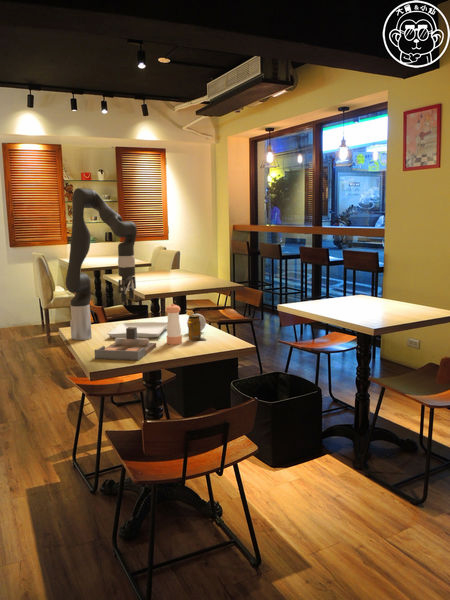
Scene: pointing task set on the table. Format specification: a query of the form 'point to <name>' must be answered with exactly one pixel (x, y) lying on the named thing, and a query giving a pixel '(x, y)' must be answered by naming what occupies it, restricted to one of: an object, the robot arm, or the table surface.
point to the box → (119, 354)
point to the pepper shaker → (173, 325)
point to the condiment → (194, 328)
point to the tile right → (132, 349)
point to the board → (125, 347)
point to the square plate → (140, 329)
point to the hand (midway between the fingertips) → (127, 300)
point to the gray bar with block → (132, 338)
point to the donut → (202, 321)
